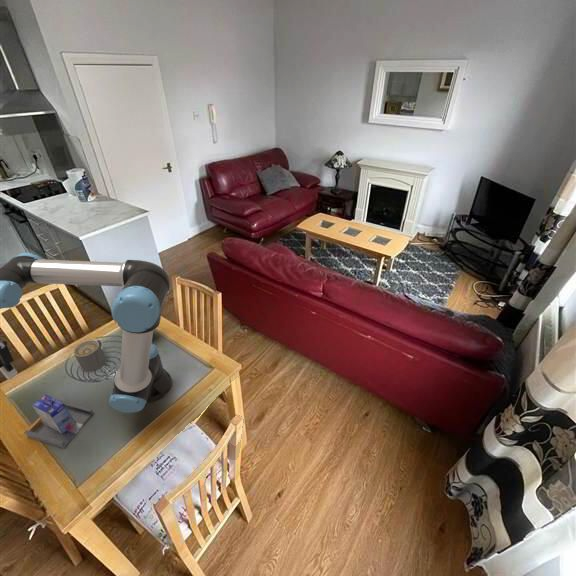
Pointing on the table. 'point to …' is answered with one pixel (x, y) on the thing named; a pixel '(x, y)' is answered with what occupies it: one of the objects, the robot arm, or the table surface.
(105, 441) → the table surface
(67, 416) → the ink cartridge box
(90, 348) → the coffee mug
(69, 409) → the grey tray
